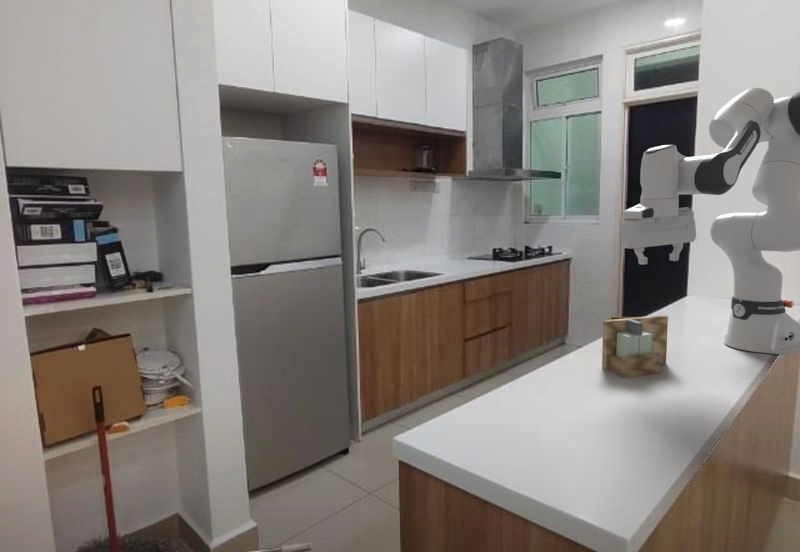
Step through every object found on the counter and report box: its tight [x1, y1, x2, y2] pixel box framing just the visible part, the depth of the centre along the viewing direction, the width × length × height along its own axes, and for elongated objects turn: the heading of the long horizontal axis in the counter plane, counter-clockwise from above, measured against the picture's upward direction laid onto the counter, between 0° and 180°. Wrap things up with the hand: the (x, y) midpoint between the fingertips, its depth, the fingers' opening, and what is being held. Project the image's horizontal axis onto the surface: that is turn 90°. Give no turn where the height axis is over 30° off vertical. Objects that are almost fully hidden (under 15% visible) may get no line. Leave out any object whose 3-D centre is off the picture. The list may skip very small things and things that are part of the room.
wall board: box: [601, 314, 669, 379], centre depth 126 cm, size 18×8×13 cm, turn 101°
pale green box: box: [616, 319, 652, 358], centre depth 125 cm, size 7×4×9 cm, turn 101°
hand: (658, 262), depth 130 cm, fingers open, 8 cm apart
